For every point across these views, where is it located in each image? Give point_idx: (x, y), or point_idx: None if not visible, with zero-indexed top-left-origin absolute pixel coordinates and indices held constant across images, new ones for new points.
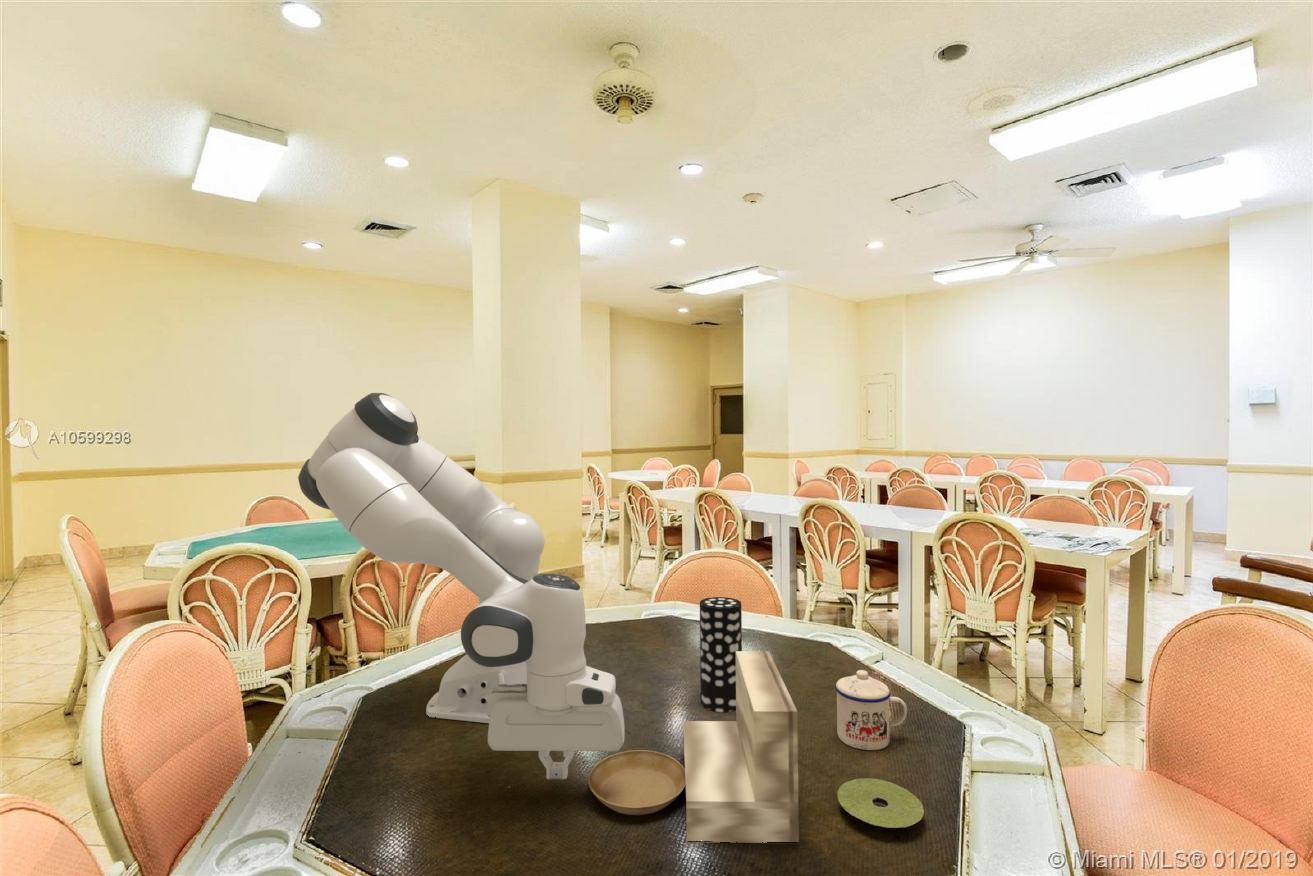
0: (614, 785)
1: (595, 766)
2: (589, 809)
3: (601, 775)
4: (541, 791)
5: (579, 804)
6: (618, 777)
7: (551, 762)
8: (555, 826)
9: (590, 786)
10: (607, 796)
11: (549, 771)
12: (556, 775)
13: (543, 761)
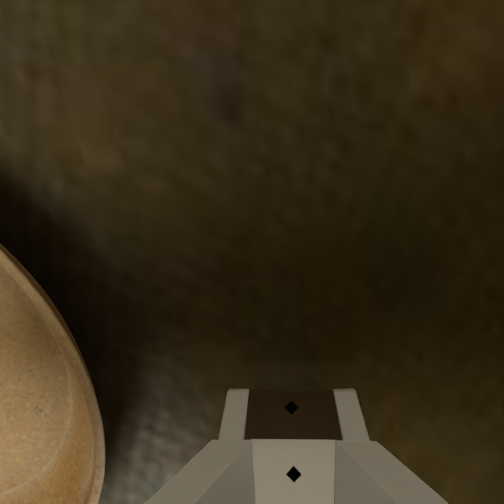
0: (21, 401)
1: (91, 495)
2: (83, 227)
3: (81, 453)
4: (372, 359)
5: (147, 265)
6: (22, 452)
7: (342, 497)
8: (224, 64)
9: (51, 323)
10: (21, 321)
11: (341, 423)
12: (288, 402)
13: (410, 487)
